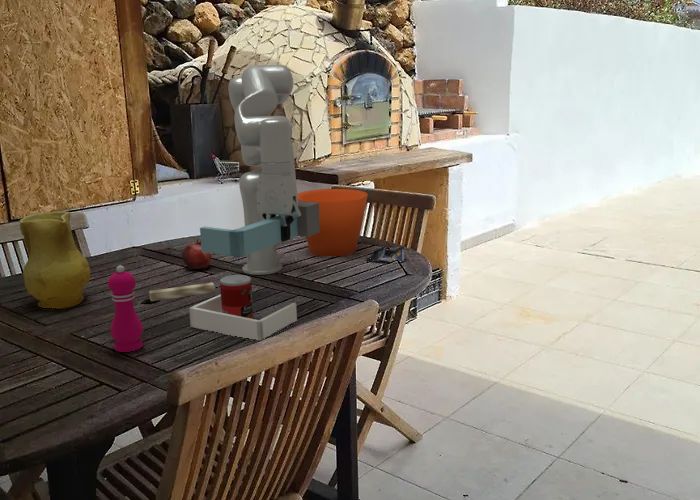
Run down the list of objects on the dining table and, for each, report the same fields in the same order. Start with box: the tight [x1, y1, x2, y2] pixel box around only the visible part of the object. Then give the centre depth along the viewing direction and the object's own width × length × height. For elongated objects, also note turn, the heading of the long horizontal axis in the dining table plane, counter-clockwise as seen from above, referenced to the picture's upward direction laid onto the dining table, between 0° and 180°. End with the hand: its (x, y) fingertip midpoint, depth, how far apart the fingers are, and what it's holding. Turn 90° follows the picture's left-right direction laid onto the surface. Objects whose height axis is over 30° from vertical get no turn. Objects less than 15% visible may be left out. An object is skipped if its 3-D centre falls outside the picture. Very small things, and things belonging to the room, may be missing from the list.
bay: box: [188, 293, 298, 340], centre depth 176 cm, size 15×22×5 cm
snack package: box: [365, 246, 405, 263], centre depth 231 cm, size 12×6×12 cm
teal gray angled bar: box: [199, 201, 320, 258], centre depth 179 cm, size 30×15×8 cm, turn 150°
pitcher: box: [19, 210, 91, 310], centre depth 194 cm, size 17×19×25 cm
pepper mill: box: [107, 264, 144, 353], centre depth 161 cm, size 7×7×20 cm
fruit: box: [181, 238, 213, 271], centre depth 226 cm, size 9×10×10 cm
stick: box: [148, 282, 216, 302], centre depth 200 cm, size 18×3×3 cm, turn 113°
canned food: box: [219, 274, 254, 319], centre depth 179 cm, size 8×8×11 cm
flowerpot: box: [297, 188, 369, 258], centre depth 243 cm, size 25×25×20 cm
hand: (279, 239), depth 181 cm, fingers closed on teal gray angled bar, 3 cm apart
